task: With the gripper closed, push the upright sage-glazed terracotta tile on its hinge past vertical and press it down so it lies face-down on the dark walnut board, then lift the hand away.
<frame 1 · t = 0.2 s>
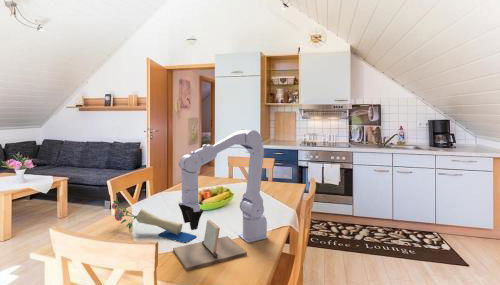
hand: (190, 225, 103), 10 cm above the table, tool pointing down, fingers open, 7 cm apart
flower vase: (144, 230, 124), on the table
board: (209, 252, 104), on the table
tile: (211, 236, 104), point 6 cm above the table, hinge at 80.0°
blue flat pad: (177, 237, 118), on the table
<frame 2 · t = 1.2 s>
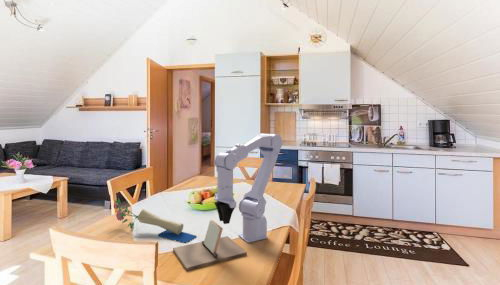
hand: (224, 222, 106), 10 cm above the table, tool pointing down, fingers open, 3 cm apart
tile: (212, 236, 104), point 6 cm above the table, hinge at 72.4°
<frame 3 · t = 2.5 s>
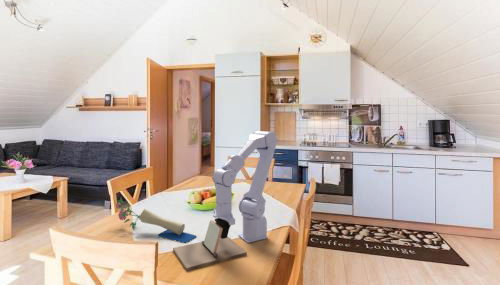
hand: (223, 237, 106), 4 cm above the table, tool pointing down, fingers closed, pressing on tile
tile: (212, 236, 104), point 6 cm above the table, hinge at 72.4°, touching gripper
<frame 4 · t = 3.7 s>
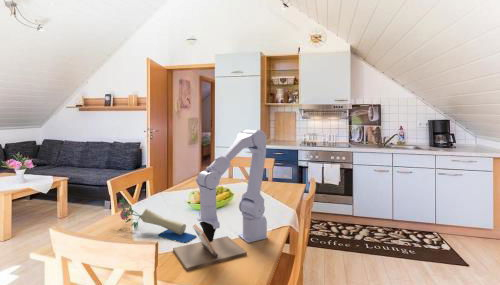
hand: (209, 241, 104), 4 cm above the table, tool pointing down, fingers closed, pressing on tile
tile: (203, 239, 102), point 6 cm above the table, hinge at 118.0°, touching gripper
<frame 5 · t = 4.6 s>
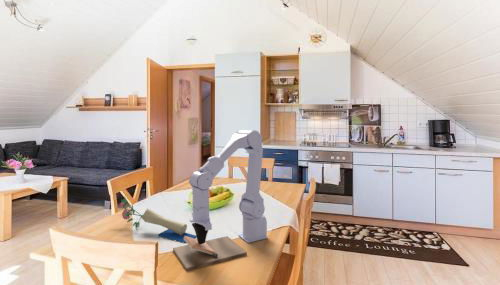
hand: (201, 243, 102), 4 cm above the table, tool pointing down, fingers closed, pressing on tile
tile: (198, 245, 102), point 4 cm above the table, hinge at 152.0°, touching gripper
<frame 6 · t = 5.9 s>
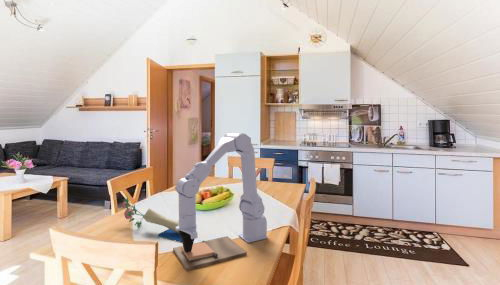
hand: (187, 251, 100), 2 cm above the table, tool pointing down, fingers closed, pressing on tile
tile: (197, 250, 101), point 2 cm above the table, hinge at 178.0°, touching gripper
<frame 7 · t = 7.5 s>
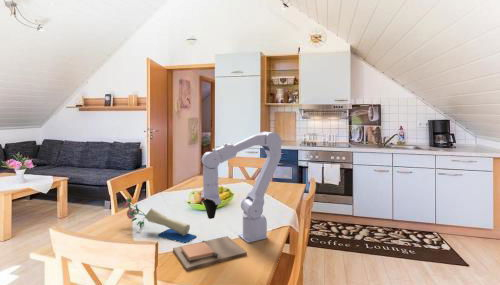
hand: (211, 218, 111), 10 cm above the table, tool pointing down, fingers closed
tile: (197, 250, 101), point 2 cm above the table, hinge at 178.0°
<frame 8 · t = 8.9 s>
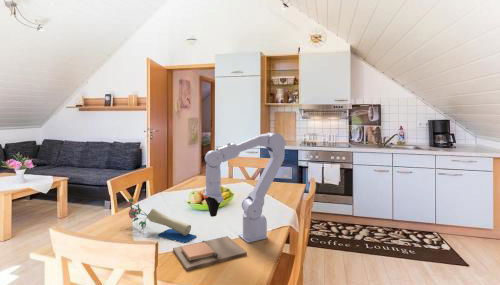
hand: (213, 215, 112), 10 cm above the table, tool pointing down, fingers closed
at the end: tile at +178° (first picture: +80°); blue flat pad moved 0.6 cm from its start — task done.
